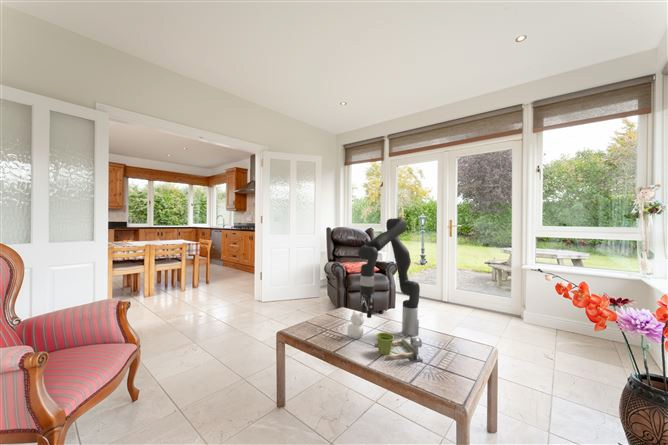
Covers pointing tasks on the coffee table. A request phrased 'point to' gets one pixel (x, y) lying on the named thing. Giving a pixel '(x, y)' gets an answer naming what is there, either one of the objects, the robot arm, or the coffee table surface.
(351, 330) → the cat figurine
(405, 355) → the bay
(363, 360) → the coffee table surface
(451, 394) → the coffee table surface
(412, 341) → the winch post
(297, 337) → the coffee table surface
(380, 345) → the plant pot
